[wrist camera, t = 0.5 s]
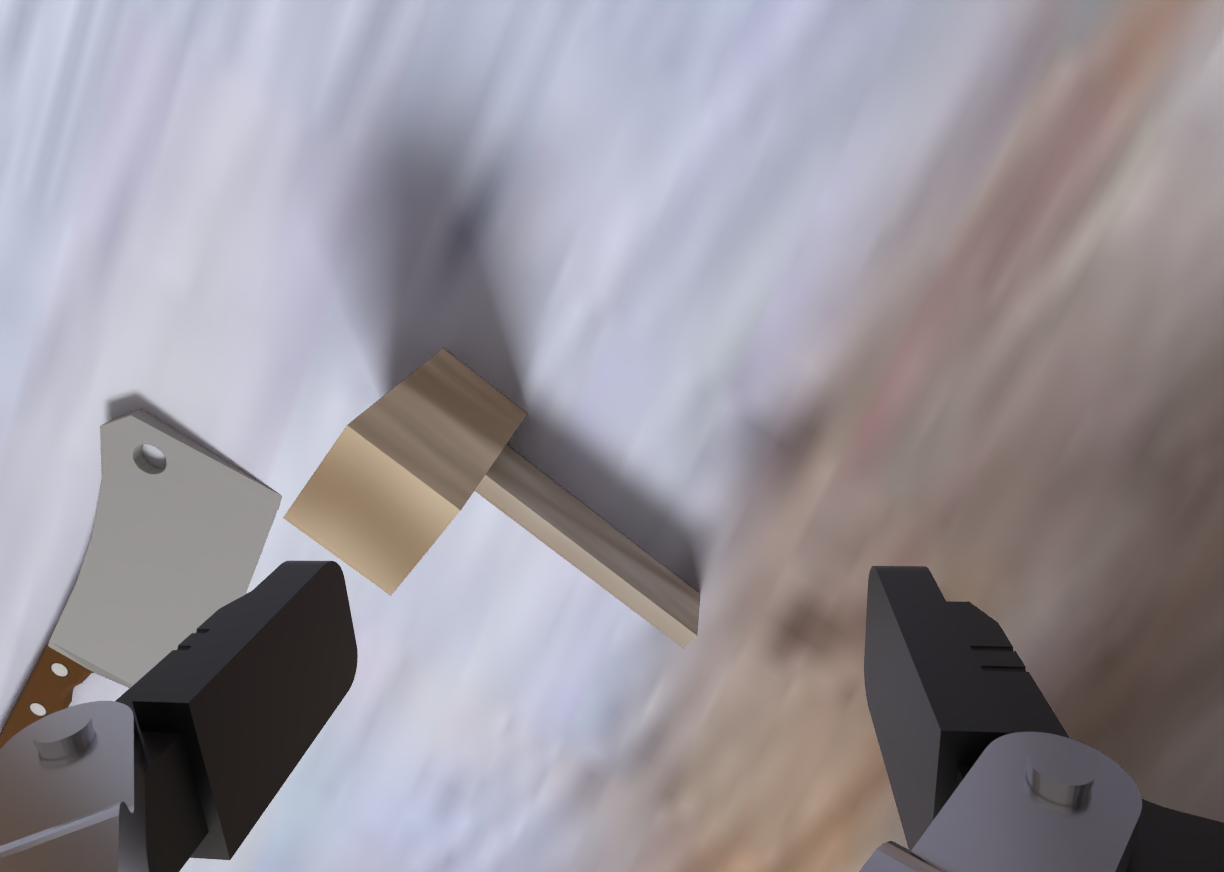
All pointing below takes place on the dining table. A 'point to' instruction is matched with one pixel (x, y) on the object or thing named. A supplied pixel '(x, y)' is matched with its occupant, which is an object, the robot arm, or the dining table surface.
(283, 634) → the robot arm
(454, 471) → the wooden mallet
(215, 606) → the kitchen cleaver
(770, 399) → the dining table surface
